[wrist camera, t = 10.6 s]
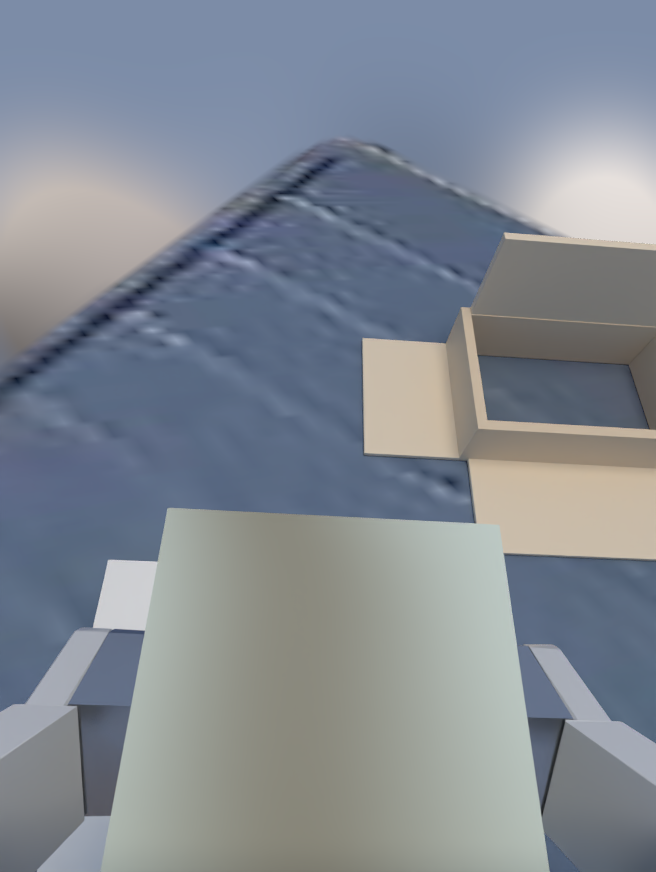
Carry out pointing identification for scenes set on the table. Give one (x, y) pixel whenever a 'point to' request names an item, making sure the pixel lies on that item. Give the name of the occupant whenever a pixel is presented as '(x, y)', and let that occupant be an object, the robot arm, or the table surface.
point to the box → (327, 703)
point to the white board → (117, 609)
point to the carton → (534, 442)
